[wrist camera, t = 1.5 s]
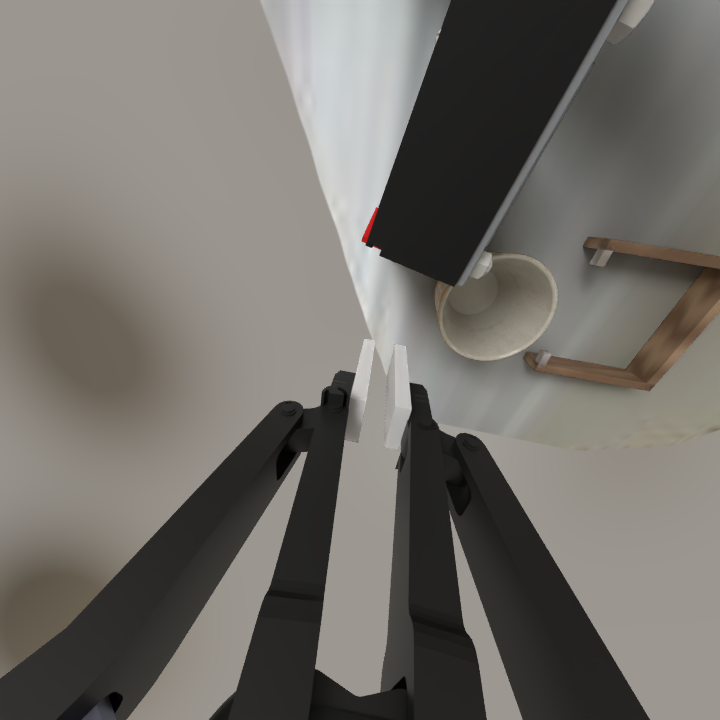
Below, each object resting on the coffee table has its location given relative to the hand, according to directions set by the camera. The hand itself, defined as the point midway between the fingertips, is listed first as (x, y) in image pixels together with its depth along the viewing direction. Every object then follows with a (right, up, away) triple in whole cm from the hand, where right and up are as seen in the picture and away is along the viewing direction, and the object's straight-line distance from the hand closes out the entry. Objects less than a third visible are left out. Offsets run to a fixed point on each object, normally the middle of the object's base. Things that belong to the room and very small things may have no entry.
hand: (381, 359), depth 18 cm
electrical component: (+8, +23, +14) cm, 29 cm away
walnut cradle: (+35, +7, +20) cm, 41 cm away
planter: (+15, +11, +21) cm, 28 cm away
